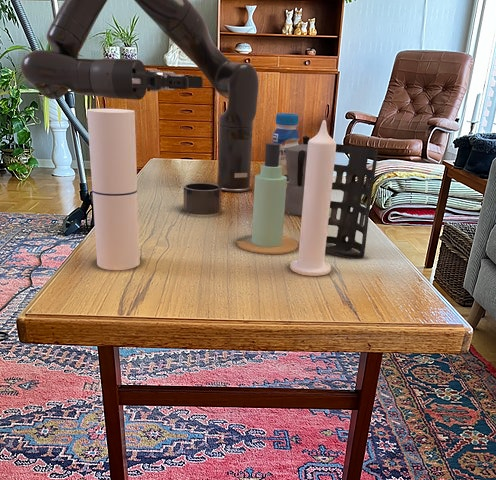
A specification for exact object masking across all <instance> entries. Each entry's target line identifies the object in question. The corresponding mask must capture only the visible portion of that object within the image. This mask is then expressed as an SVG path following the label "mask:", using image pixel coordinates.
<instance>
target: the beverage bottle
mask: <svg viewBox="0 0 496 480" xmlns="http://www.w3.org/2000/svg"><path fill="white" fill-rule="evenodd" d="M299 117H300V116H299V114H296V113H290V112H289V113H285V112H278V113H276V114H275V125H276V126H277V127H276V128H275V130H274V131H273V134H272V137H271V138H272V140H273V141H272V143H278V144H280V152H279V165H281V166H282V175H283V176H286V177H287V183H286V185H288V184H289V177H288V176H287V164H286V150H285V148H287V147H292V146H296V145H300V144H299V140H300V134H299V132H298V129H297V128H296V127H298V126H299Z"/></svg>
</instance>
